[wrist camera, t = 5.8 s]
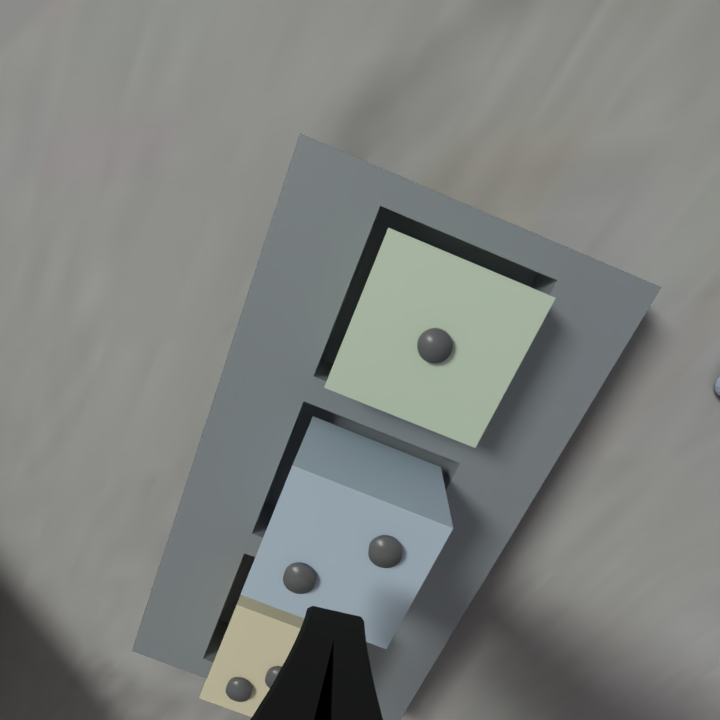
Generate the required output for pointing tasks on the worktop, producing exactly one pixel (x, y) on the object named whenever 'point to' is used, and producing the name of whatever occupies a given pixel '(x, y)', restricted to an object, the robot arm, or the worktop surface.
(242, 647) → the tile three dots
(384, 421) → the board
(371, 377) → the tile one dot
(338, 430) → the tile two dots
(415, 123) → the worktop surface
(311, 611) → the robot arm
